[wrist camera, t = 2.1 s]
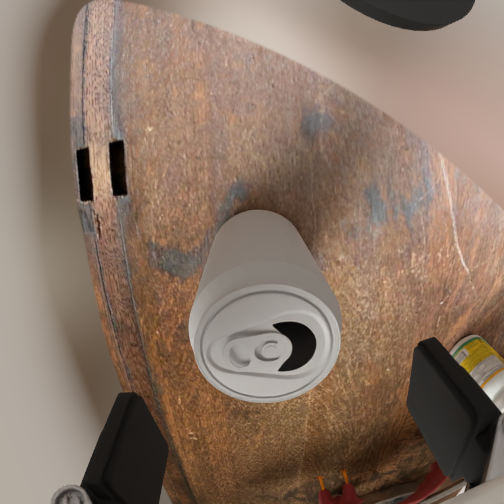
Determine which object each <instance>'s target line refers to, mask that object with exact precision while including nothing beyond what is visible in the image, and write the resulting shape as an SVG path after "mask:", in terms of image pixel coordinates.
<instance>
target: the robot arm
mask: <svg viewBox="0 0 504 504" xmlns="http://www.w3.org/2000/svg"><path fill="white" fill-rule="evenodd" d="M407 407H408V410H409V412H410V413H411V415H412V417H413V419H414V421H415V422H416V424H417V426H418V428H419V430H420V431H421V433H422V435H423V437H424V439H425V440H426V442H427V444H428V446H429V448H430V450H431V452H432V453H433V455H434V457H435V459H436V461H437V463H438V465H439V467H440V469H441V470H442V472H443V474H444V475H445V476H446V477H448V476H449V477H450V479H451V481H452V482H453V481H455V480H458V479H460V478H462V477H464V479H465V481H466V482H467V484H466V488H465V491H464V493H462V494H460V495H458V496H455V497H453V498H451V499H449V500H447V501H444V502H442V503H440V504H504V412H503V413H502V412H501V411H500V410H499V409H498V407H497V406H496V405H495V404H494V403H493V401H492V400H491V399H490V398H489V396H488V395H487V394H486V393H485V392H484V390H483V389H482V388H481V387H480V386H479V384H478V383H477V382H476V381H475V380H474V379H473V377H472V376H471V375H470V374H469V373H468V372H467V370H466V369H465V368H464V367H462V366H460V365H459V363H458V362H457V361H456V360H455V359H454V358H453V357H452V355H451V354H450V353H449V352H448V351H447V350H446V349H445V348H444V346H443V345H442V344H441V343H440V342H439V341H438V340H437V339H436V338H435V337H432V338H429V339H426V340H423V341H420V342H419V343H418V346H417V347H415V348H414V353H413V362H412V370H411V378H410V385H409V391H408V398H407ZM168 451H169V450H168V444H167V442H166V440H165V439H164V437H163V435H162V433H161V432H160V430H159V428H158V426H157V424H156V422H155V421H154V419H153V417H152V415H151V413H150V411H149V409H148V407H147V405H146V403H145V401H144V399H143V398H142V397H141V396H138V395H137V393H135V392H126V393H119V394H118V396H117V398H116V400H115V403H114V405H113V407H112V410H111V412H110V414H109V417H108V419H107V422H106V424H105V426H104V429H103V431H102V432H101V435H100V437H99V439H98V442H97V444H96V447H95V449H94V452H93V454H92V457H91V459H90V462H89V464H88V467H87V470H86V472H85V475H84V477H83V480H82V483H81V485H80V486H77V485H66V486H63V487H61V488H60V489H58V491H56V492H55V494H54V495H53V497H52V500H51V504H159V499H160V494H161V489H162V483H163V478H164V473H165V468H166V462H167V457H168Z"/></svg>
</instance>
